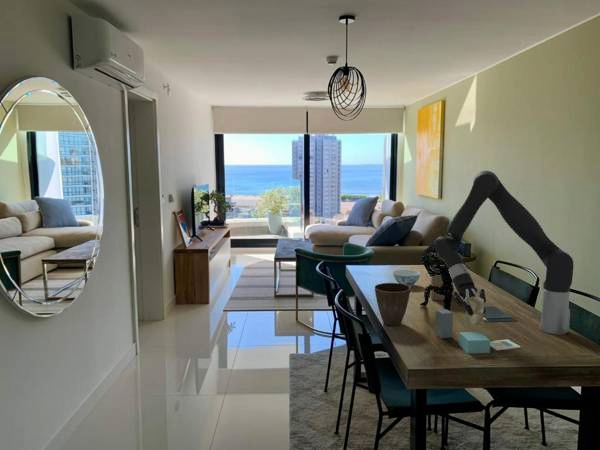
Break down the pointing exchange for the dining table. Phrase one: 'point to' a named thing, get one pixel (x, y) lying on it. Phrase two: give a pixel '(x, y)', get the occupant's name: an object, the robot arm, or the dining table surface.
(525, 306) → the dining table surface
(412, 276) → the chinaware
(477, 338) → the teal base block
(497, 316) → the dark blue-grey book
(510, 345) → the card
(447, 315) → the charcoal block
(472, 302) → the maple block
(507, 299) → the dining table surface
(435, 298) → the wooden block
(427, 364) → the dining table surface
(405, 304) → the plant pot
